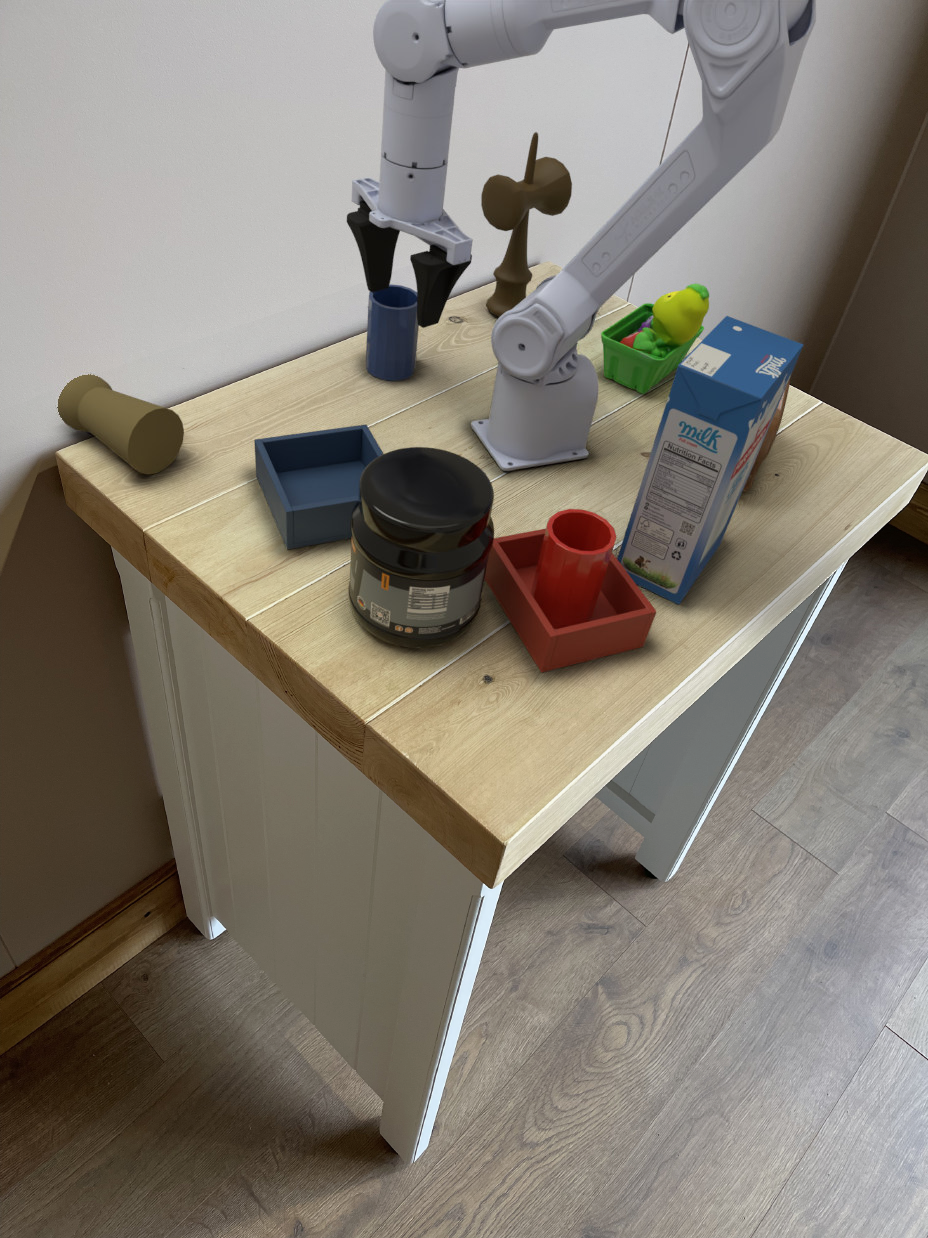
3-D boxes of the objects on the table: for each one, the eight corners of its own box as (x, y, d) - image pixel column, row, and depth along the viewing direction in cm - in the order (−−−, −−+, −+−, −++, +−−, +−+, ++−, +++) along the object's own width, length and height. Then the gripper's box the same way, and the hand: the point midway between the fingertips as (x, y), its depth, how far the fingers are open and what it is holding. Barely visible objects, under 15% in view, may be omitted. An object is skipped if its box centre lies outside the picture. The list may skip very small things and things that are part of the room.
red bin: (578, 555, 80) (587, 519, 77) (643, 646, 73) (657, 611, 70) (481, 575, 76) (488, 538, 74) (541, 672, 70) (550, 636, 67)
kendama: (550, 310, 111) (586, 132, 97) (501, 334, 105) (530, 149, 91) (512, 291, 113) (541, 115, 99) (461, 313, 108) (484, 130, 94)
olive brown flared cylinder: (126, 418, 75) (40, 370, 79) (129, 483, 79) (46, 434, 83) (183, 400, 79) (99, 356, 84) (184, 462, 83) (103, 417, 87)
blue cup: (404, 352, 100) (410, 282, 94) (421, 377, 97) (428, 306, 91) (359, 357, 98) (362, 286, 93) (375, 383, 95) (379, 311, 89)
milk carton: (678, 605, 77) (761, 398, 63) (612, 573, 79) (678, 364, 64) (720, 544, 83) (804, 343, 69) (658, 516, 85) (727, 314, 71)
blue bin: (364, 460, 86) (366, 423, 83) (402, 528, 79) (406, 492, 77) (256, 476, 82) (254, 439, 79) (287, 549, 76) (286, 512, 73)
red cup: (586, 585, 76) (608, 510, 71) (598, 630, 73) (622, 555, 67) (525, 583, 76) (542, 507, 70) (534, 629, 72) (553, 553, 66)
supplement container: (415, 544, 78) (428, 424, 70) (506, 612, 74) (532, 493, 65) (319, 599, 72) (320, 475, 64) (412, 676, 68) (426, 555, 59)
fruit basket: (635, 340, 108) (661, 246, 100) (703, 370, 105) (735, 275, 97) (587, 376, 101) (611, 277, 93) (658, 409, 98) (689, 310, 90)
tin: (738, 423, 98) (765, 352, 92) (767, 432, 97) (796, 361, 91) (714, 501, 88) (743, 426, 82) (746, 511, 87) (778, 437, 81)
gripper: (325, 132, 79) (323, 282, 89) (433, 196, 73) (418, 351, 82) (389, 122, 83) (381, 267, 93) (498, 181, 76) (476, 331, 86)
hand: (402, 305), depth 88 cm, fingers open, 7 cm apart
